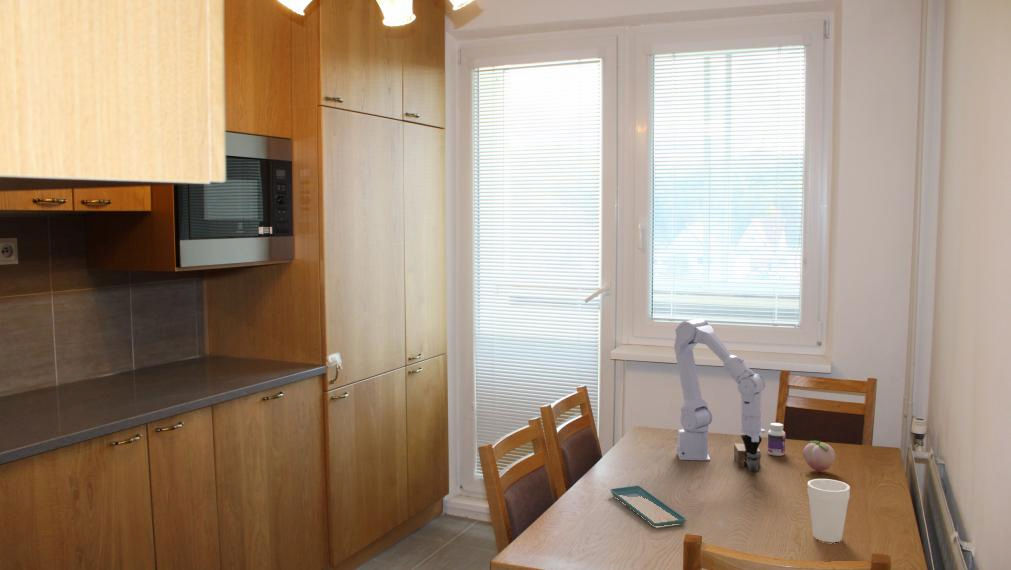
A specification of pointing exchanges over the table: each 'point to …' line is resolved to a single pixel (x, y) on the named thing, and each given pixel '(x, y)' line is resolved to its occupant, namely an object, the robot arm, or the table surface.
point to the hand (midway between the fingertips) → (751, 459)
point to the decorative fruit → (819, 455)
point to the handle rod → (752, 461)
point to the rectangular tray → (639, 491)
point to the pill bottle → (776, 440)
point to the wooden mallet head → (741, 454)
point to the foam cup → (828, 508)
